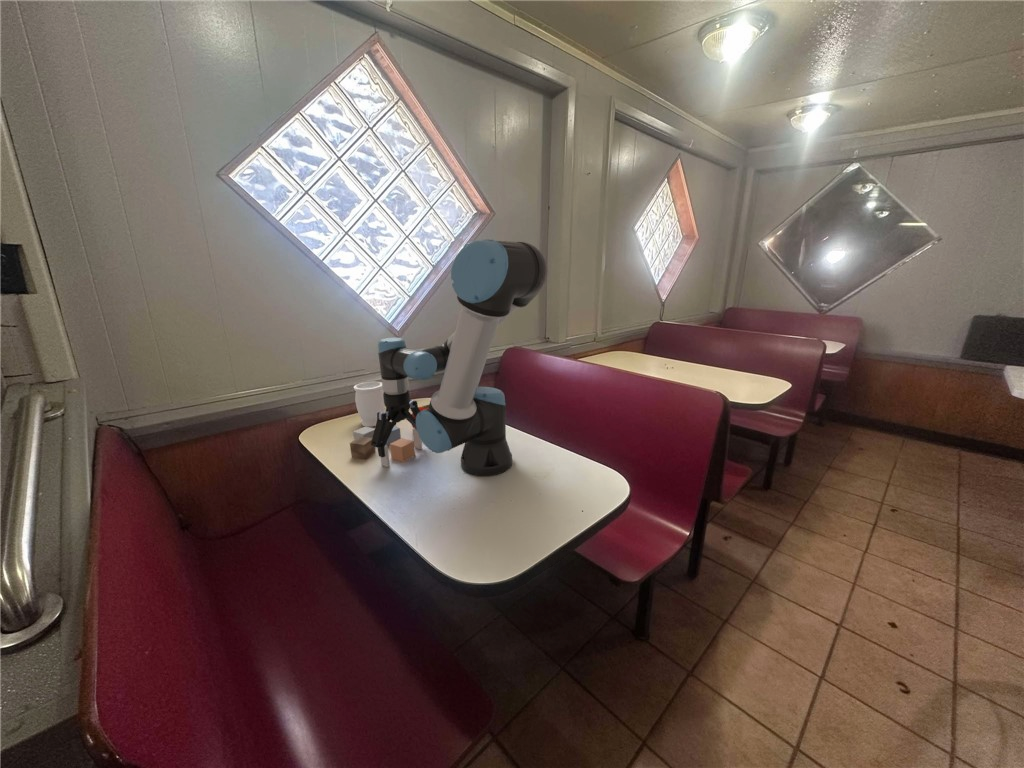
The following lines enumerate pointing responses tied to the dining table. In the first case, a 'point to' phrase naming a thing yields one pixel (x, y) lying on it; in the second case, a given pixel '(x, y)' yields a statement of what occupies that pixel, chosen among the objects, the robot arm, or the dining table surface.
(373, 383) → the jar
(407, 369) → the robot arm
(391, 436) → the slate cube
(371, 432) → the grey cube
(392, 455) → the terracotta cube
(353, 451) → the walnut cube
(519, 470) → the dining table surface
